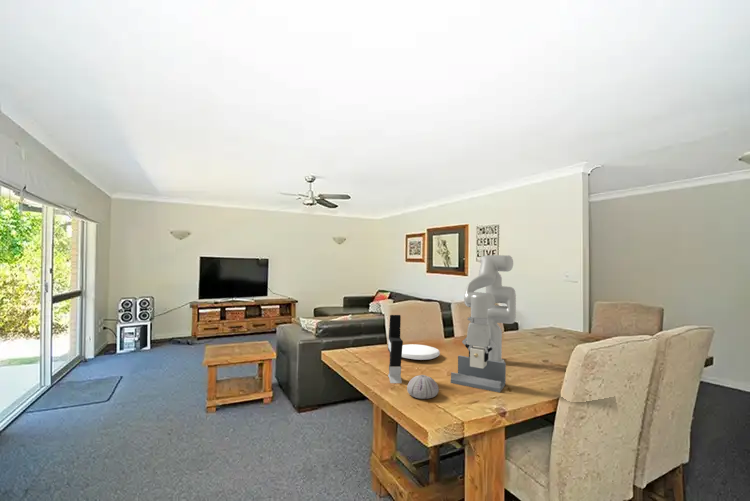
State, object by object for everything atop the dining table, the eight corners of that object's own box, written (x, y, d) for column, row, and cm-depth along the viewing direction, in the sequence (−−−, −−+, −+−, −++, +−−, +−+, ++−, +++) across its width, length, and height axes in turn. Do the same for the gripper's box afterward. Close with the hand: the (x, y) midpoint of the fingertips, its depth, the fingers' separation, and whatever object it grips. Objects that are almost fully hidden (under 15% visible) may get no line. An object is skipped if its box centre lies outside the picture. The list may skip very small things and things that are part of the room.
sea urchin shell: (445, 397, 151) (445, 377, 151) (420, 403, 144) (420, 383, 144) (424, 387, 162) (424, 369, 163) (399, 392, 155) (400, 373, 155)
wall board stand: (458, 375, 179) (458, 355, 179) (505, 384, 168) (505, 362, 168) (450, 382, 169) (450, 361, 169) (499, 392, 157) (500, 369, 158)
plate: (397, 341, 230) (440, 344, 225) (396, 352, 229) (440, 355, 224) (390, 347, 203) (439, 351, 198) (389, 359, 202) (438, 363, 197)
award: (386, 374, 180) (388, 312, 180) (397, 374, 180) (398, 312, 181) (390, 384, 164) (392, 317, 165) (402, 384, 165) (403, 317, 166)
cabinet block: (474, 362, 173) (474, 345, 173) (486, 364, 170) (487, 347, 170) (469, 366, 166) (469, 349, 167) (482, 369, 163) (482, 351, 164)
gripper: (458, 320, 170) (457, 359, 170) (496, 324, 162) (495, 365, 161) (463, 318, 177) (462, 355, 176) (500, 321, 168) (499, 361, 168)
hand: (478, 359), depth 169 cm, fingers closed on cabinet block, 6 cm apart
